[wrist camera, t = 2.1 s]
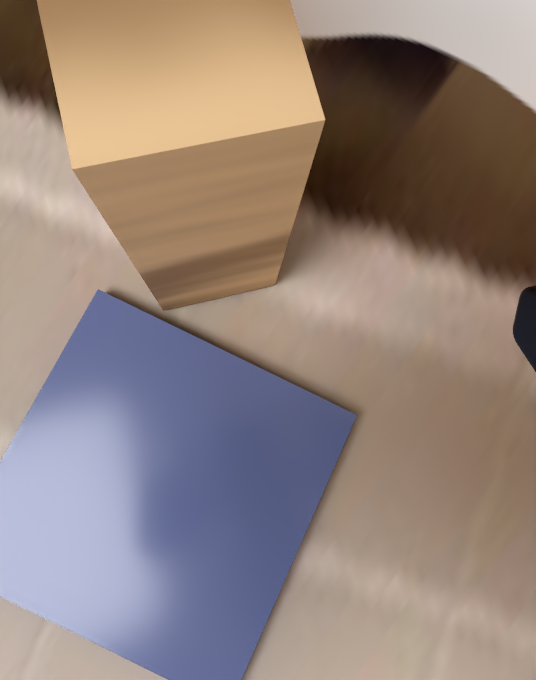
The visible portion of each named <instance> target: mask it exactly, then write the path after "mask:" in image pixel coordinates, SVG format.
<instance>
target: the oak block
mask: <svg viewBox="0 0 536 680" xmlns="http://www.w3.org/2000/svg"><path fill="white" fill-rule="evenodd" d="M37 4H38V9H39V13H40V18H41V23H42V28H43V32H44V37H45V42H46V47H47V51H48V56H49V61H50V66H51V70H52V75H53V80H54V85H55V89H56V94H57V99H58V104H59V108H60V113H61V118H62V123H63V127H64V132H65V137H66V142H67V147H68V151H69V156H70V161H71V166H72V170H73V171H74V173H75V174H76V176H77V177H78V179H79V180H80V182H81V184H82V185H83V187H84V188H85V190H86V191H87V193H88V194H89V196H90V198H91V199H92V201H93V202H94V204H95V205H96V207H97V208H98V210H99V211H100V213H101V215H102V216H103V218H104V219H105V221H106V222H107V224H108V225H109V227H110V229H111V230H112V232H113V233H114V235H115V236H116V238H117V239H118V241H119V242H120V244H121V246H122V247H123V249H124V250H125V252H126V253H127V255H128V256H129V258H130V260H131V261H132V263H133V264H134V266H135V267H136V269H137V270H138V272H139V273H140V275H141V277H142V278H143V280H144V281H145V283H146V284H147V286H148V287H149V289H150V291H151V292H152V294H153V295H154V297H155V298H156V300H157V301H158V303H159V305H160V306H161V308H162V309H163V311H164V310H169V309H173V308H177V307H182V306H186V305H190V304H195V303H199V302H203V301H208V300H212V299H216V298H221V297H225V296H229V295H234V294H238V293H242V292H247V291H251V290H255V289H260V288H264V287H268V286H273V285H275V284H276V281H277V277H278V274H279V271H280V267H281V264H282V261H283V258H284V254H285V251H286V248H287V244H288V241H289V238H290V234H291V231H292V228H293V225H294V221H295V218H296V215H297V211H298V208H299V205H300V202H301V198H302V195H303V192H304V188H305V185H306V182H307V178H308V175H309V172H310V169H311V165H312V162H313V159H314V155H315V152H316V149H317V146H318V142H319V139H320V136H321V132H322V129H323V126H324V122H325V117H324V114H323V110H322V107H321V104H320V100H319V97H318V94H317V90H316V87H315V83H314V80H313V77H312V73H311V70H310V66H309V63H308V60H307V56H306V53H305V50H304V46H303V43H302V39H301V36H300V33H299V29H298V26H297V23H296V19H295V16H294V12H293V9H292V6H291V2H290V0H37Z"/></svg>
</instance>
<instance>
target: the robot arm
mask: <svg viewBox="0 0 536 680" xmlns="http://www.w3.org/2000/svg"><path fill="white" fill-rule="evenodd" d="M513 335H514V338H515V341H516V343H517V344H518V346H519V347H520V349H521V350H522V352H523V353H524V355H525V356H526V358H527V360H528V361H529V363H530V364H531V366H532V367H533V369H534V370H535V372H536V285H535V286H531V287H528V288H526V289H524V290H523V291H522V293H521V294H520V297H519V302H518V306H517V311H516V316H515V320H514V325H513Z"/></svg>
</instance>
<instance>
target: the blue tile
mask: <svg viewBox="0 0 536 680" xmlns="http://www.w3.org/2000/svg"><path fill="white" fill-rule="evenodd" d="M356 416H357V415H356V414H354V413H352V412H350V411H348V410H346V409H344V408H342V407H339V406H337V405H335V404H333V403H331V402H329V401H327V400H325V399H323V398H321V397H319V396H317V395H315V394H313V393H311V392H309V391H307V390H304V389H302V388H300V387H298V386H296V385H294V384H292V383H290V382H288V381H286V380H284V379H282V378H280V377H278V376H276V375H274V374H272V373H269V372H267V371H265V370H263V369H261V368H259V367H257V366H255V365H253V364H251V363H249V362H247V361H245V360H243V359H241V358H239V357H237V356H235V355H232V354H230V353H228V352H226V351H224V350H222V349H220V348H218V347H216V346H214V345H212V344H210V343H208V342H206V341H204V340H202V339H200V338H197V337H195V336H193V335H191V334H189V333H187V332H185V331H183V330H181V329H179V328H177V327H175V326H173V325H171V324H169V323H167V322H165V321H162V320H160V319H158V318H156V317H154V316H152V315H150V314H148V313H146V312H144V311H142V310H140V309H138V308H136V307H134V306H132V305H130V304H128V303H125V302H123V301H121V300H119V299H117V298H115V297H113V296H111V295H109V294H107V293H105V292H103V291H101V290H99V289H98V290H97V292H96V294H95V296H94V297H93V299H92V301H91V303H90V304H89V306H88V308H87V310H86V311H85V313H84V315H83V317H82V318H81V320H80V322H79V324H78V325H77V327H76V329H75V331H74V332H73V334H72V336H71V338H70V339H69V341H68V343H67V345H66V347H65V348H64V350H63V352H62V354H61V355H60V357H59V359H58V361H57V362H56V364H55V366H54V368H53V369H52V371H51V373H50V375H49V376H48V378H47V380H46V382H45V383H44V385H43V387H42V389H41V390H40V392H39V394H38V396H37V397H36V399H35V401H34V403H33V405H32V406H31V408H30V410H29V412H28V413H27V415H26V417H25V419H24V420H23V422H22V424H21V426H20V427H19V429H18V431H17V433H16V434H15V436H14V438H13V440H12V441H11V443H10V445H9V447H8V448H7V450H6V452H5V454H4V456H3V457H2V459H1V461H0V597H2V598H4V599H6V600H8V601H10V602H12V603H14V604H16V605H18V606H20V607H22V608H24V609H26V610H28V611H30V612H32V613H34V614H36V615H38V616H40V617H42V618H44V619H46V620H48V621H50V622H52V623H54V624H56V625H58V626H60V627H63V628H65V629H67V630H69V631H71V632H73V633H75V634H77V635H79V636H81V637H83V638H85V639H87V640H89V641H91V642H93V643H95V644H97V645H99V646H101V647H103V648H105V649H107V650H109V651H111V652H113V653H115V654H117V655H119V656H121V657H123V658H125V659H127V660H129V661H131V662H133V663H135V664H137V665H140V666H142V667H144V668H146V669H148V670H150V671H152V672H154V673H156V674H158V675H160V676H162V677H164V678H166V679H168V680H241V679H242V677H243V675H244V672H245V670H246V668H247V665H248V663H249V661H250V659H251V656H252V654H253V652H254V649H255V647H256V645H257V643H258V640H259V638H260V636H261V633H262V631H263V629H264V627H265V624H266V622H267V620H268V617H269V615H270V613H271V611H272V608H273V606H274V604H275V601H276V599H277V597H278V595H279V592H280V590H281V588H282V585H283V583H284V581H285V579H286V576H287V574H288V572H289V569H290V567H291V565H292V563H293V560H294V558H295V556H296V553H297V551H298V549H299V547H300V544H301V542H302V540H303V537H304V535H305V533H306V531H307V528H308V526H309V524H310V521H311V519H312V517H313V515H314V512H315V510H316V508H317V505H318V503H319V501H320V499H321V496H322V494H323V492H324V489H325V487H326V485H327V483H328V480H329V478H330V476H331V473H332V471H333V469H334V467H335V464H336V462H337V460H338V457H339V455H340V453H341V451H342V448H343V446H344V444H345V441H346V439H347V437H348V434H349V432H350V430H351V428H352V425H353V423H354V421H355V418H356Z"/></svg>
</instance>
